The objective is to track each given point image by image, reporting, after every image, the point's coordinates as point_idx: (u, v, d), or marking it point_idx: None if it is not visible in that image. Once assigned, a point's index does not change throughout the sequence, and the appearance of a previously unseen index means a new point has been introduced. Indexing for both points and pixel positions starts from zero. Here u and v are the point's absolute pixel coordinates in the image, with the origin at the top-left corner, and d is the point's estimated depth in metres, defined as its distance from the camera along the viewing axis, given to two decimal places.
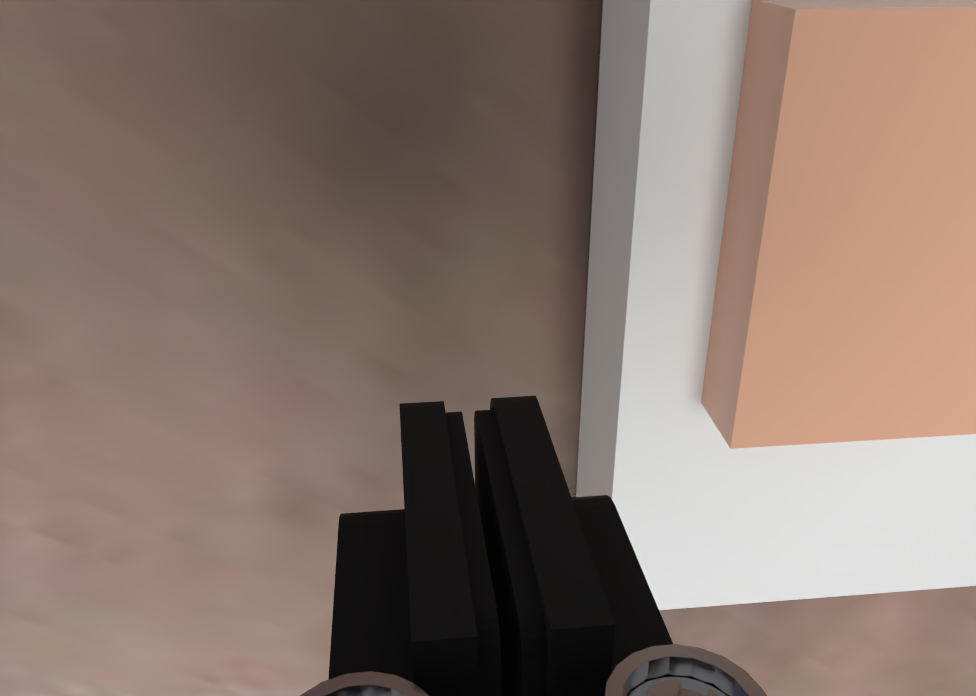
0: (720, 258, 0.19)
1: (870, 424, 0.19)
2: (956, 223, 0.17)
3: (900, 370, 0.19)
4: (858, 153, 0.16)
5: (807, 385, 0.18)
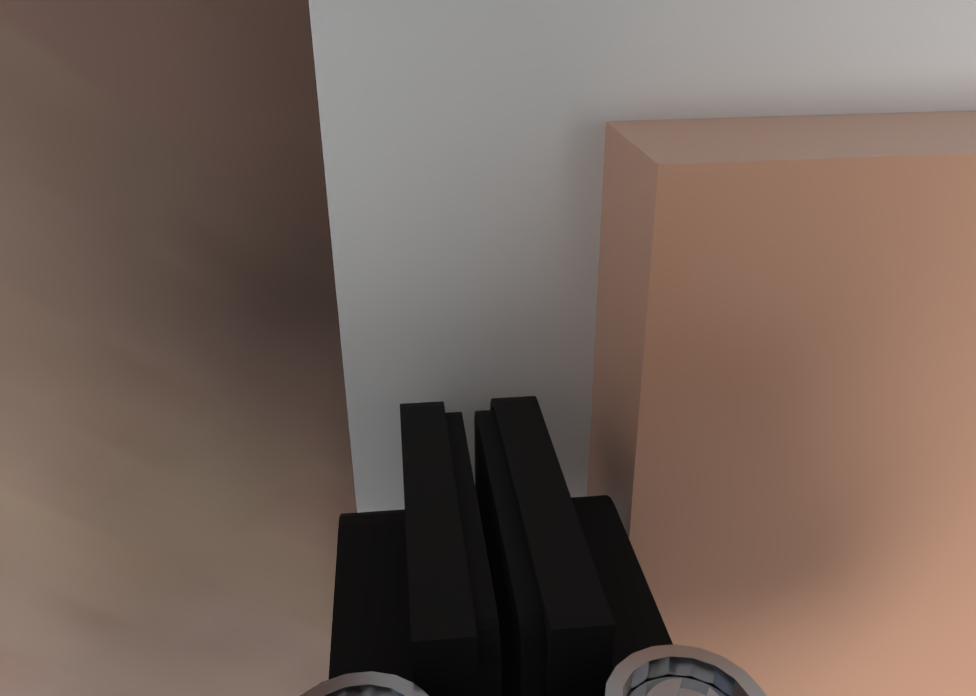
0: None
1: None
2: (968, 500, 0.10)
3: None
4: (793, 400, 0.09)
5: None
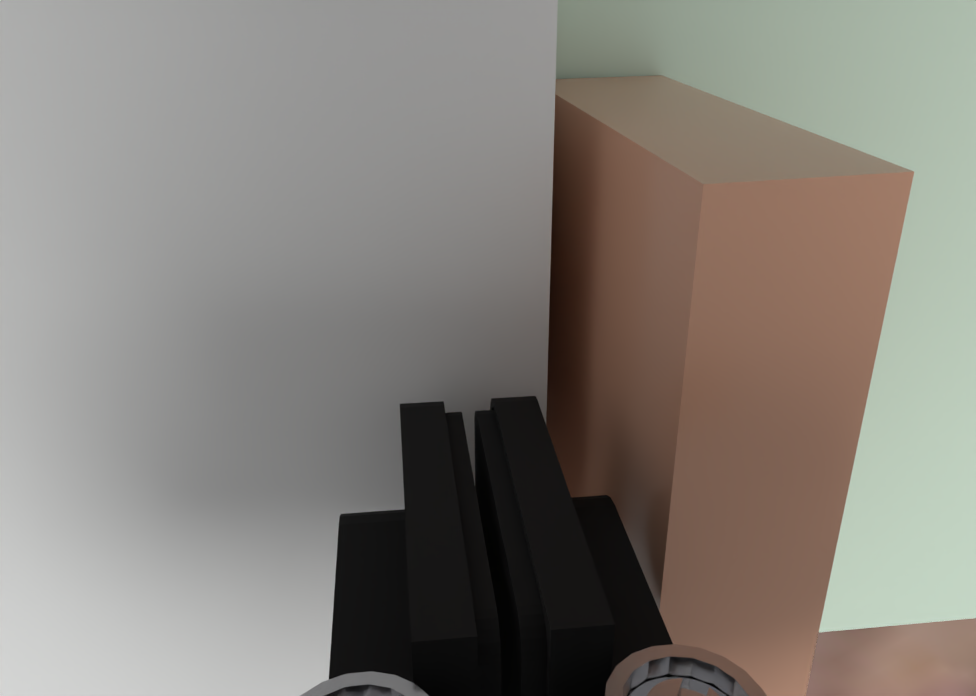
0: None
1: None
2: None
3: None
4: None
5: None
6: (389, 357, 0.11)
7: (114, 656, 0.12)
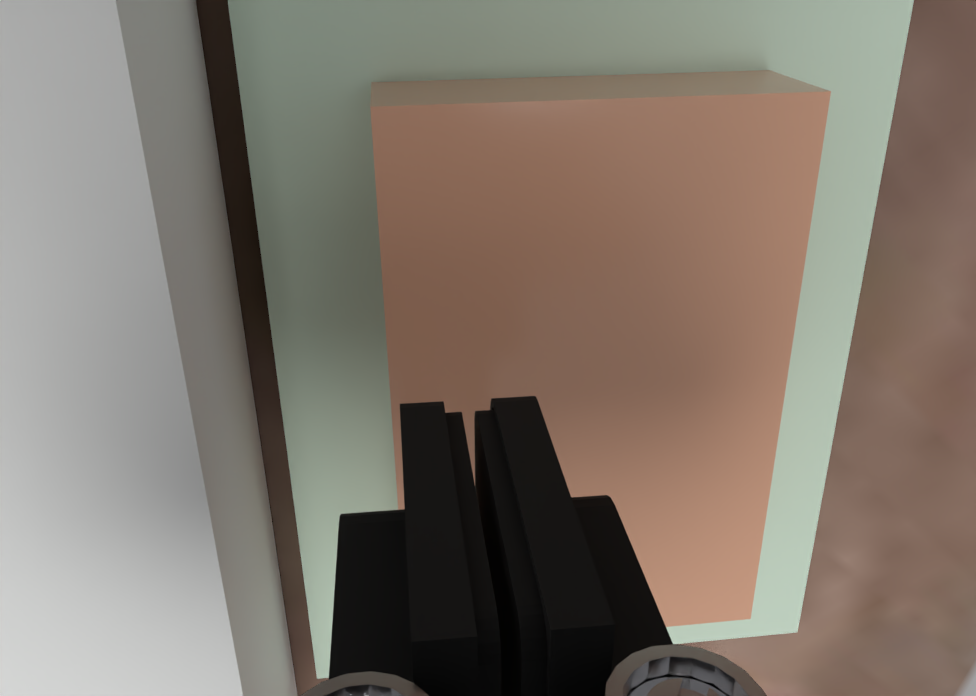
0: (775, 434, 0.14)
1: None
2: None
3: None
4: None
5: None
6: (11, 380, 0.10)
7: None
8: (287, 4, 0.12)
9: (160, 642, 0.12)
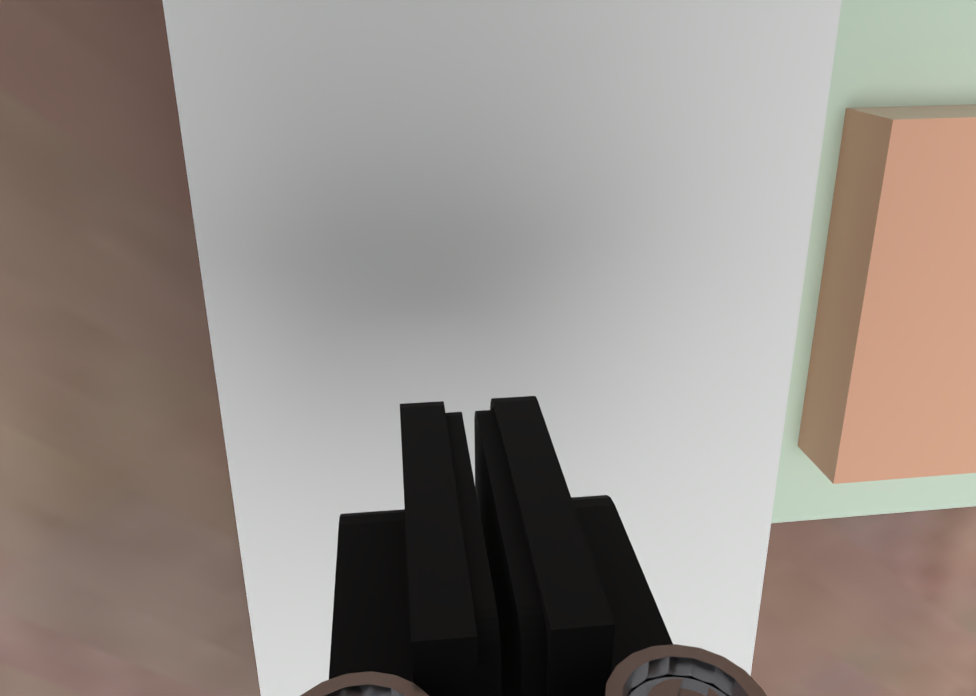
0: None
1: None
2: None
3: None
4: None
5: None
6: (714, 272, 0.18)
7: None
8: None
9: (739, 448, 0.19)
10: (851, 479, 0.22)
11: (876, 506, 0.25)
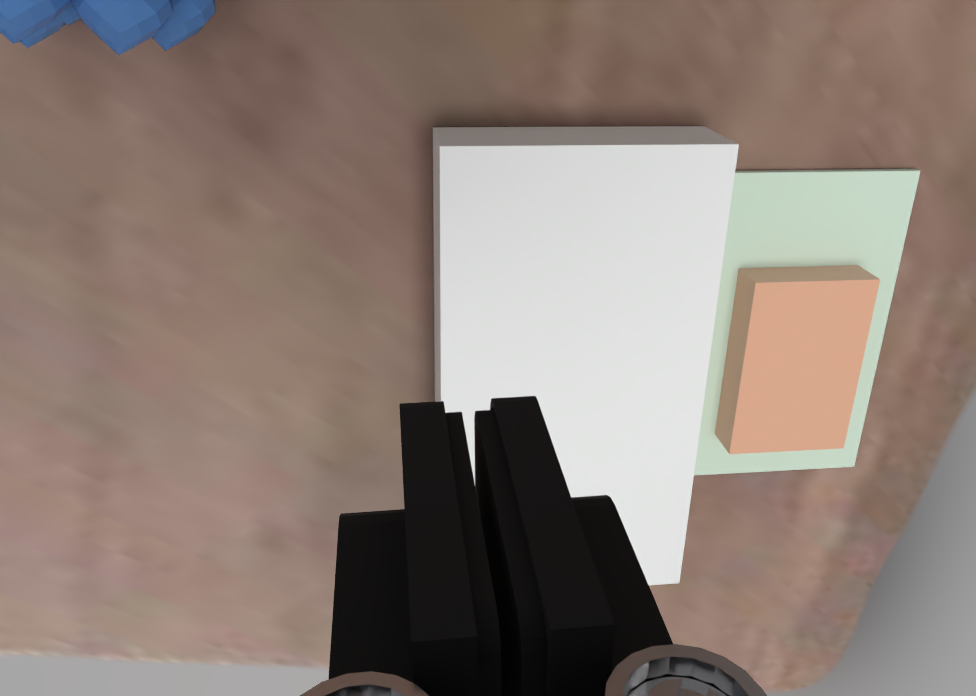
0: (857, 381, 0.42)
1: None
2: None
3: None
4: None
5: None
6: (668, 355, 0.38)
7: (573, 445, 0.40)
8: None
9: (678, 435, 0.40)
10: (738, 452, 0.43)
11: (758, 467, 0.46)
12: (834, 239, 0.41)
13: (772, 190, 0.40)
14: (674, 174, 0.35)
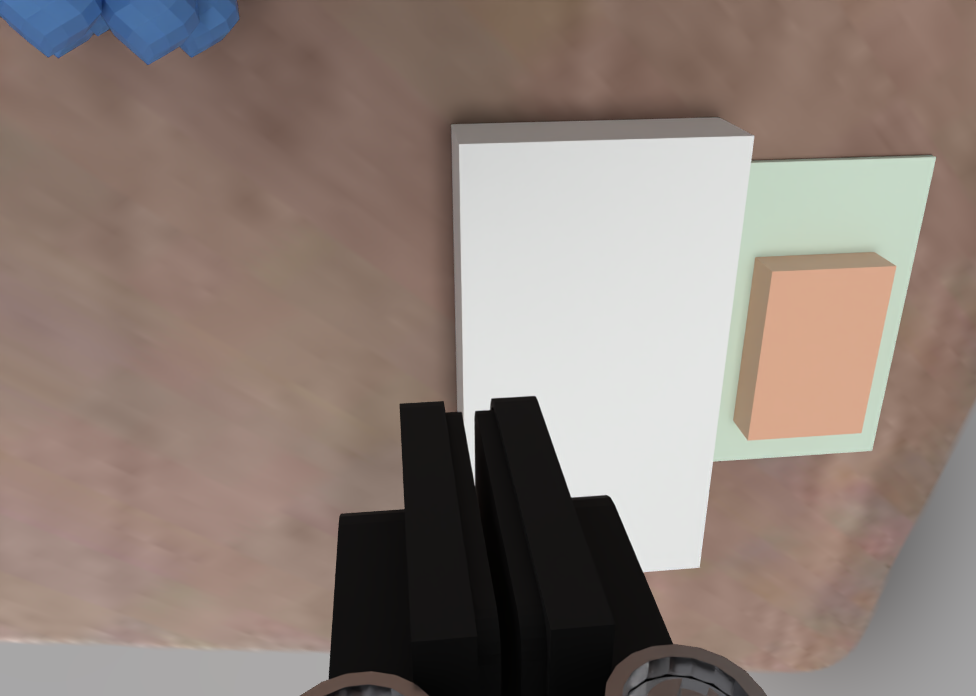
0: (874, 367, 0.43)
1: None
2: None
3: None
4: None
5: None
6: (686, 344, 0.39)
7: (593, 434, 0.40)
8: None
9: (697, 423, 0.41)
10: (757, 438, 0.44)
11: (776, 452, 0.47)
12: (850, 226, 0.41)
13: (788, 179, 0.40)
14: (690, 166, 0.35)
